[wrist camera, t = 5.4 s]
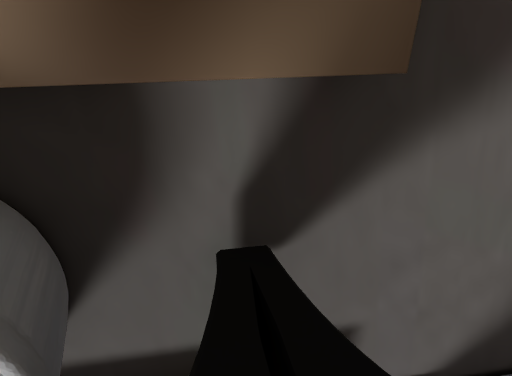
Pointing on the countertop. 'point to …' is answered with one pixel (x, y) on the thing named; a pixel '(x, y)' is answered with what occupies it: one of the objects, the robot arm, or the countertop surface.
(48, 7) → the brown flat frame
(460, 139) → the countertop surface
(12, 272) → the ramekin
